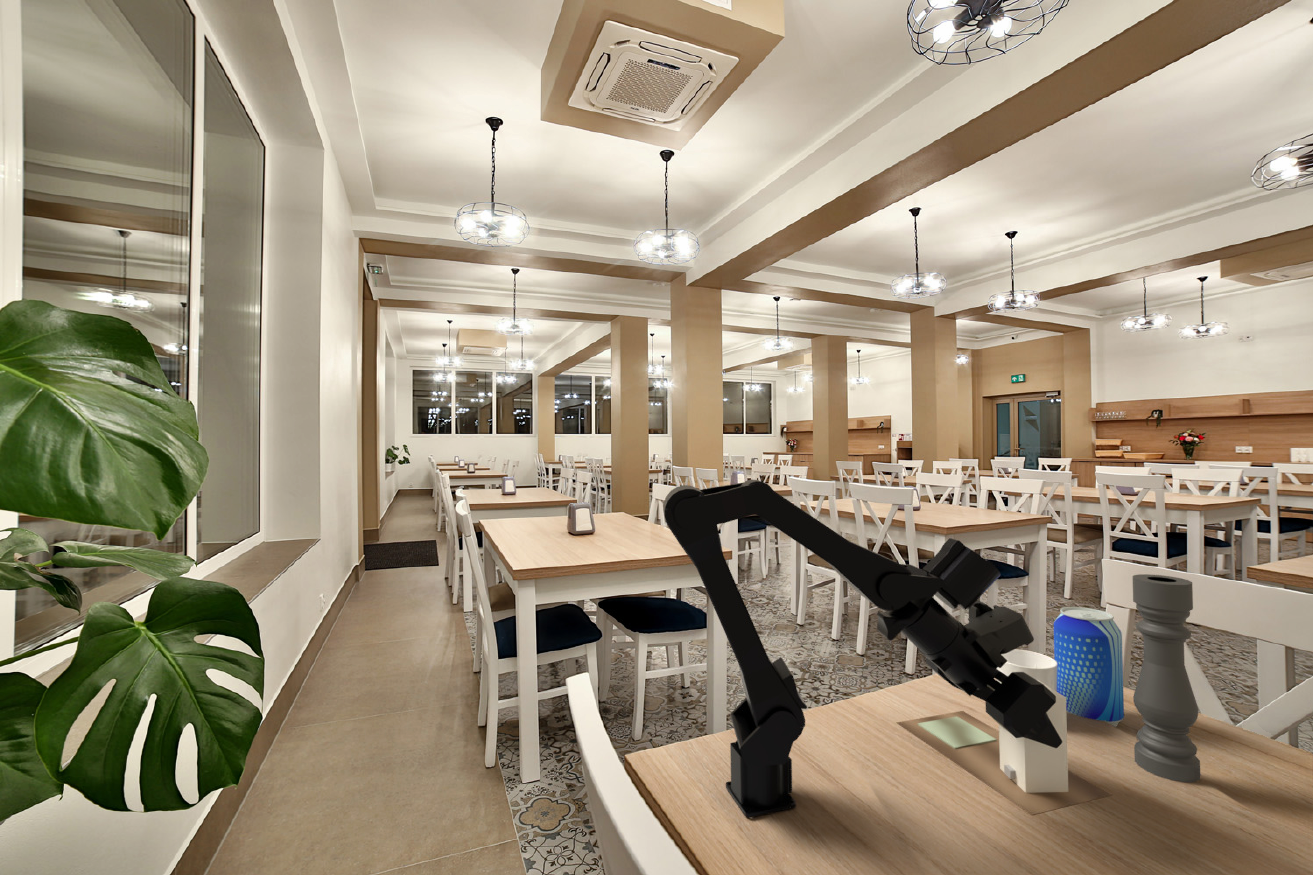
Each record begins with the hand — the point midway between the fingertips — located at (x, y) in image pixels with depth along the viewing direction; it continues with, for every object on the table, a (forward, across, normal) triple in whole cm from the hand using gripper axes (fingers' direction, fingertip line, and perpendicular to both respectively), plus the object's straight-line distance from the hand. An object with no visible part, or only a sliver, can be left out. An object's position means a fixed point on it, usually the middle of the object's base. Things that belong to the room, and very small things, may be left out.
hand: (1032, 724), depth 70 cm
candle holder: (+19, +2, -7) cm, 20 cm away
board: (+4, +6, +7) cm, 10 cm away
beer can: (+21, +18, -8) cm, 29 cm away
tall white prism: (+5, 0, +5) cm, 7 cm away
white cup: (+13, +16, -1) cm, 21 cm away
